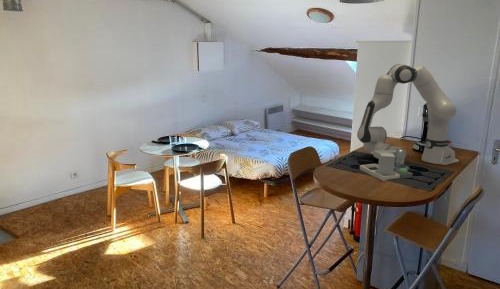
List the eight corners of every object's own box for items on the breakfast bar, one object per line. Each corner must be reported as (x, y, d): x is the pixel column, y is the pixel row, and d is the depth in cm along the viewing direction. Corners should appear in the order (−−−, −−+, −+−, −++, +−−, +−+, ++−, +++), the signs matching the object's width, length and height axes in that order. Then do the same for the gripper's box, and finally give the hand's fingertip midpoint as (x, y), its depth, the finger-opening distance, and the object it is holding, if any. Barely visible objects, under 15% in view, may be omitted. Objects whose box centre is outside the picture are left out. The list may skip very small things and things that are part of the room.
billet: (399, 166, 231) (401, 148, 228) (405, 168, 226) (407, 150, 223) (392, 166, 229) (394, 148, 226) (398, 169, 224) (400, 151, 222)
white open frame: (359, 169, 226) (359, 165, 225) (375, 167, 230) (375, 163, 229) (383, 181, 207) (383, 176, 206) (399, 179, 211) (400, 174, 210)
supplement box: (392, 179, 210) (395, 156, 206) (378, 178, 211) (380, 155, 208) (390, 174, 217) (393, 153, 213) (377, 173, 218) (379, 152, 215)
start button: (403, 174, 216) (403, 167, 215) (408, 176, 212) (409, 169, 211) (397, 175, 215) (398, 168, 214) (402, 177, 211) (403, 170, 210)
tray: (399, 166, 233) (399, 163, 232) (409, 170, 225) (409, 167, 225) (388, 167, 230) (388, 164, 230) (397, 171, 223) (398, 168, 222)
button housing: (403, 174, 218) (403, 169, 217) (412, 178, 212) (412, 173, 211) (393, 175, 216) (393, 170, 215) (401, 180, 209) (402, 174, 209)
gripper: (369, 147, 235) (384, 153, 223) (397, 144, 242) (413, 150, 230) (368, 157, 237) (383, 163, 224) (395, 154, 244) (411, 160, 231)
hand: (398, 157), depth 227 cm, fingers open, 8 cm apart
